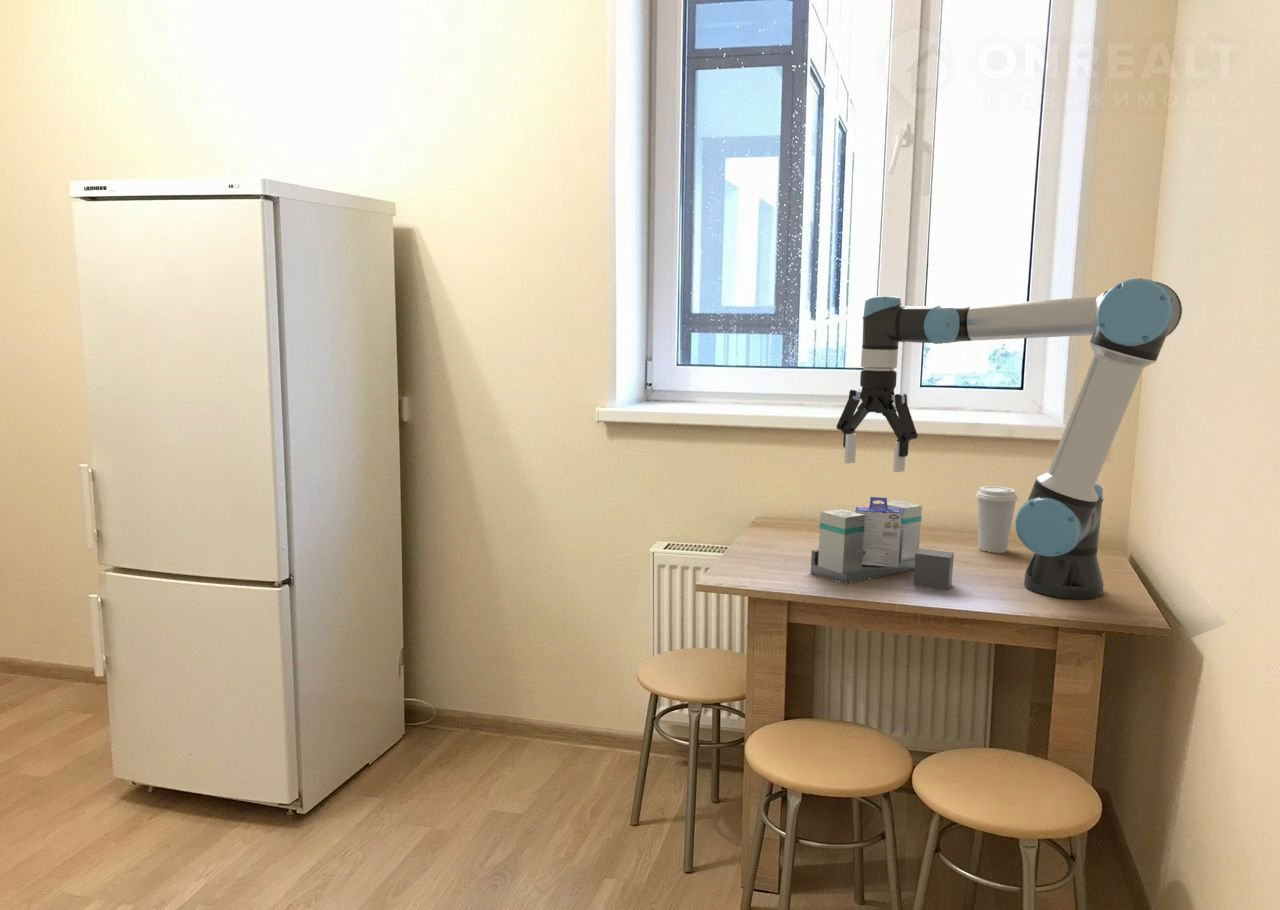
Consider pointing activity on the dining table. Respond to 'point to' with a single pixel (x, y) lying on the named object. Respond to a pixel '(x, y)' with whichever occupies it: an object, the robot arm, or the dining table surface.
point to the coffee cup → (995, 517)
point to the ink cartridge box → (881, 534)
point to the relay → (933, 569)
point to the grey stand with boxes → (861, 544)
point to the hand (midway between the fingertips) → (873, 467)
